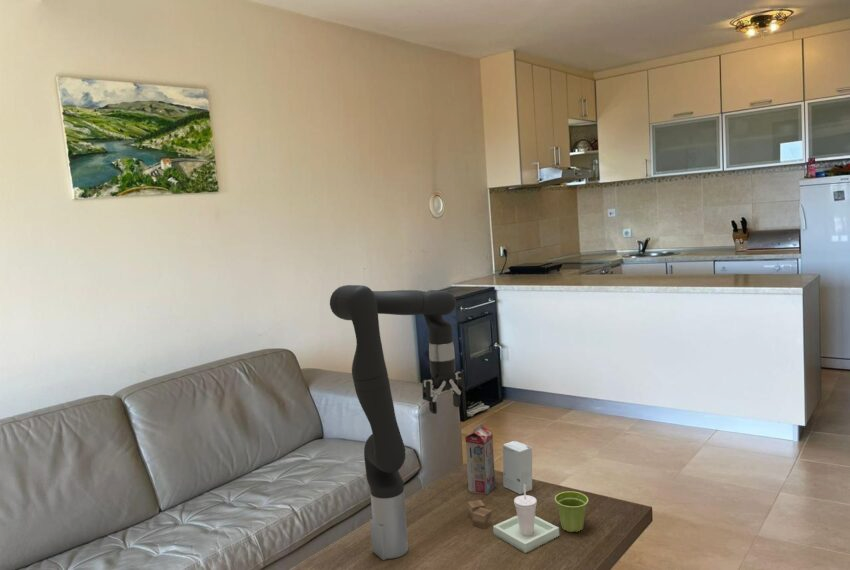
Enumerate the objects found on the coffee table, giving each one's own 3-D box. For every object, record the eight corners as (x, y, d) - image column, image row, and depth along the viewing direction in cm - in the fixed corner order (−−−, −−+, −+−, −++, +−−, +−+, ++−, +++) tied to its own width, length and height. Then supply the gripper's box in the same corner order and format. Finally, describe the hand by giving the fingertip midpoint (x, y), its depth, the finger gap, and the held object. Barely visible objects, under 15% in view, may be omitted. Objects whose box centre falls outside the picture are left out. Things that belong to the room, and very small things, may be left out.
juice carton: (495, 486, 210) (491, 422, 208) (486, 494, 205) (483, 429, 202) (477, 483, 214) (473, 420, 211) (468, 491, 208) (464, 427, 205)
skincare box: (503, 487, 209) (500, 444, 208) (516, 481, 213) (513, 439, 211) (521, 495, 203) (519, 451, 201) (534, 489, 206) (532, 445, 204)
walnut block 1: (473, 520, 189) (472, 507, 188) (468, 514, 193) (467, 502, 192) (485, 517, 190) (484, 505, 189) (480, 512, 194) (480, 499, 193)
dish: (525, 553, 169) (525, 544, 169) (493, 534, 180) (493, 526, 180) (559, 536, 177) (558, 527, 176) (526, 519, 187) (526, 511, 187)
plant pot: (595, 525, 181) (594, 496, 180) (578, 539, 174) (577, 509, 173) (566, 516, 188) (565, 488, 187) (549, 529, 181) (548, 500, 180)
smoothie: (537, 526, 181) (535, 480, 179) (539, 538, 175) (537, 490, 173) (514, 527, 182) (512, 480, 180) (516, 538, 175) (513, 490, 174)
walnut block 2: (484, 529, 183) (483, 516, 183) (473, 525, 186) (472, 512, 185) (492, 523, 186) (491, 510, 186) (480, 519, 189) (480, 507, 188)
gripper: (453, 350, 194) (456, 401, 196) (415, 359, 186) (418, 412, 188) (468, 354, 188) (471, 407, 190) (430, 363, 180) (433, 418, 182)
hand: (445, 409), depth 189 cm, fingers open, 8 cm apart
